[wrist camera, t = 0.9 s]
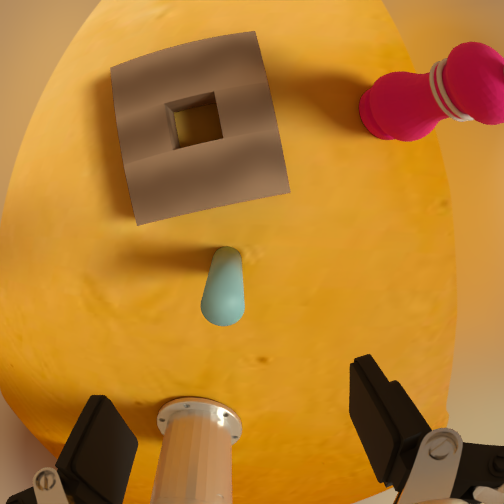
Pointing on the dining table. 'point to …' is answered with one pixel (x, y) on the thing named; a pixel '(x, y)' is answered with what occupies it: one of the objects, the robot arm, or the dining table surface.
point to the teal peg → (224, 288)
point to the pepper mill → (437, 95)
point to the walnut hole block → (204, 154)
